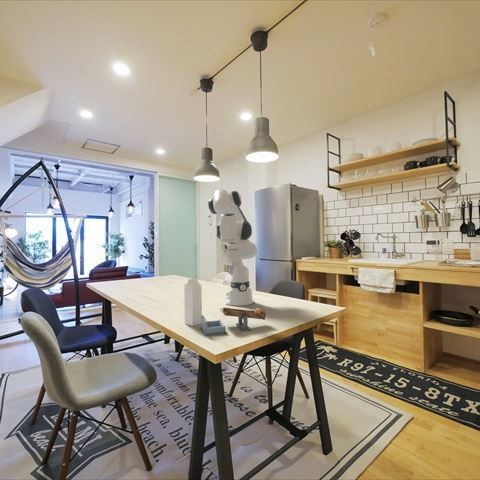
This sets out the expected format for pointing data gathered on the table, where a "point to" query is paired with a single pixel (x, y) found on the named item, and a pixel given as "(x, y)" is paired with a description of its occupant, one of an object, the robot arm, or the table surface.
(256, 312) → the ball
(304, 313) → the table surface
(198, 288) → the milk
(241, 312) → the lever
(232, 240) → the robot arm
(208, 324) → the light blue open box
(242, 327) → the pivot stand
